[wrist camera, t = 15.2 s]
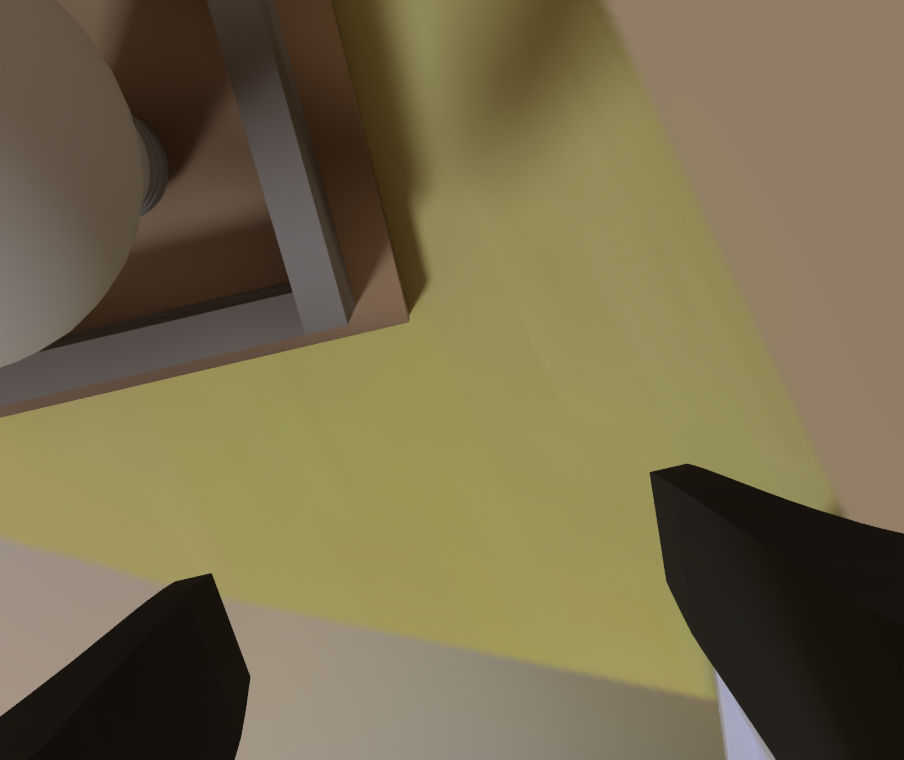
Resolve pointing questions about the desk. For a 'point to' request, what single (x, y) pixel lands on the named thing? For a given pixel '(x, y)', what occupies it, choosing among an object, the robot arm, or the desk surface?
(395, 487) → the desk surface
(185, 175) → the socket base
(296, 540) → the desk surface
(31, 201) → the lightbulb
